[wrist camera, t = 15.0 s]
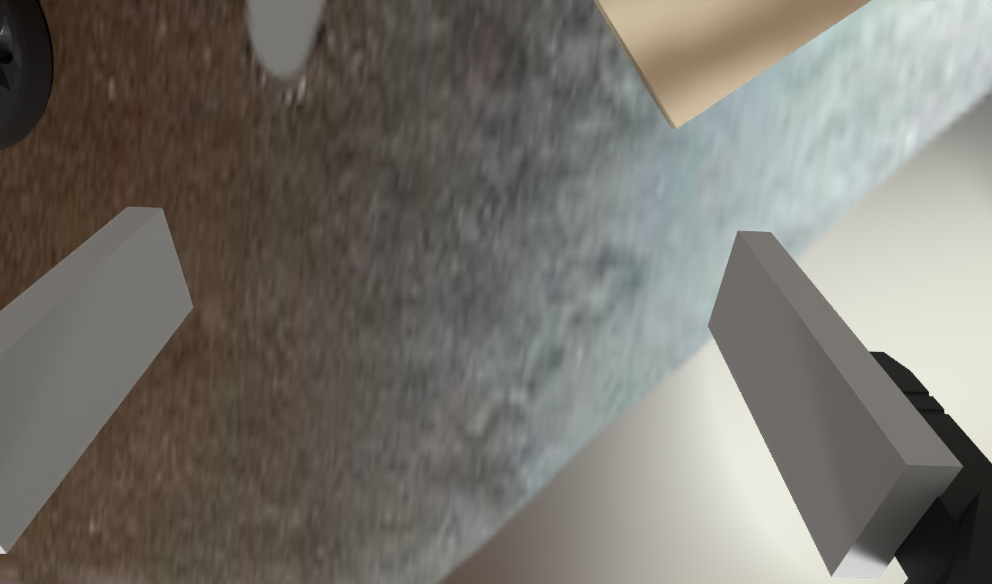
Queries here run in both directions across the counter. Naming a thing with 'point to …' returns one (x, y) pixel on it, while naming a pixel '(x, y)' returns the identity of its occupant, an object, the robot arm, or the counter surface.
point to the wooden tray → (712, 43)
